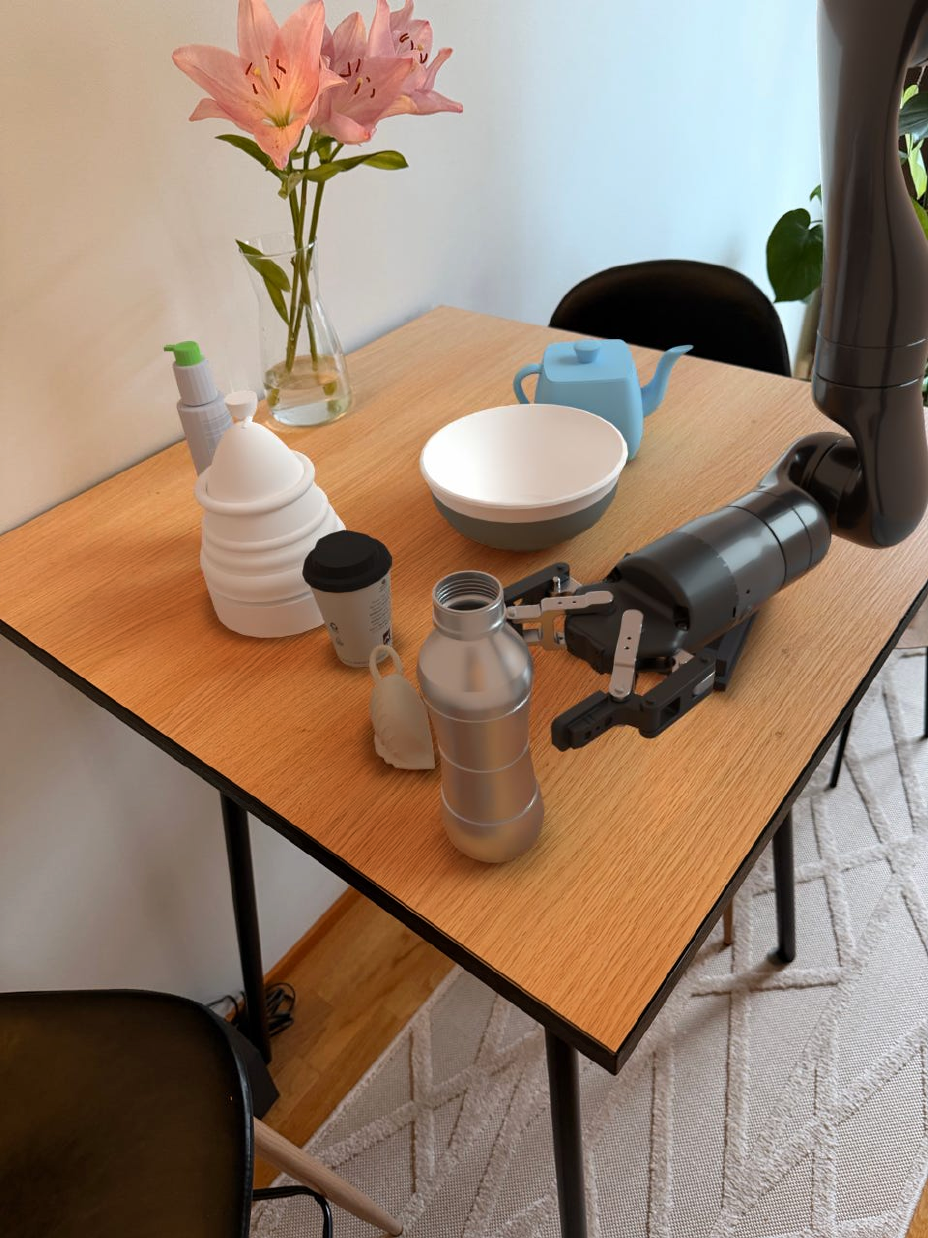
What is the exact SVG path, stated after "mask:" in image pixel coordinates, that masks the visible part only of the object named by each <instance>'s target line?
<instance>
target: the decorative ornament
mask: <svg viewBox="0 0 928 1238" xmlns="http://www.w3.org/2000/svg"><path fill="white" fill-rule="evenodd" d="M380 652H387V653H388V654H389V655H388V656H390V658H391V659H392V662H393V664H394V673H390V674H387V675H385V676H383V677H382V676H381V675H380V673H379V670H378V666H377V664H376V658H377V656H378V654H379V653H380ZM369 671H370V675H371V677H372V679H373V681H374V682H375V685H374V686H373V689H372V691H371V695H370V698H369V704H368V705H369V708H368V709H369V719H370V720H371V722H372V726H373V730H374V732H375V734H374V739H373V741H374V744H375V752H376V754H377V755H378V757H380V758H382V759H383V760H384V762H385V763H386V764H388V765H393V767H394V768H395V769H404V770H435V769H436V765H435V763H436V762H435V753H434V751H435V750H434V744H433V738H432V732H431V725H430V719H429V712H428V709H427V707H426V704H425V702H424V700H423V698H422V697H421V696H420V694H419V692H418V691H417V689H416V687H414V685H413V684H412V683H411V682H410V681H409V680H408V679H407V678H405V677H404V665H403V662H402V660H401V657H400V656H399V654H398V652H397V651H396V650H395V649H394V648H393V647H392V648H391V647H389V646H387V645H379V646H377V647H376V648H374V649H373V651H372V653H371V655H370V659H369Z"/></svg>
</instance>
